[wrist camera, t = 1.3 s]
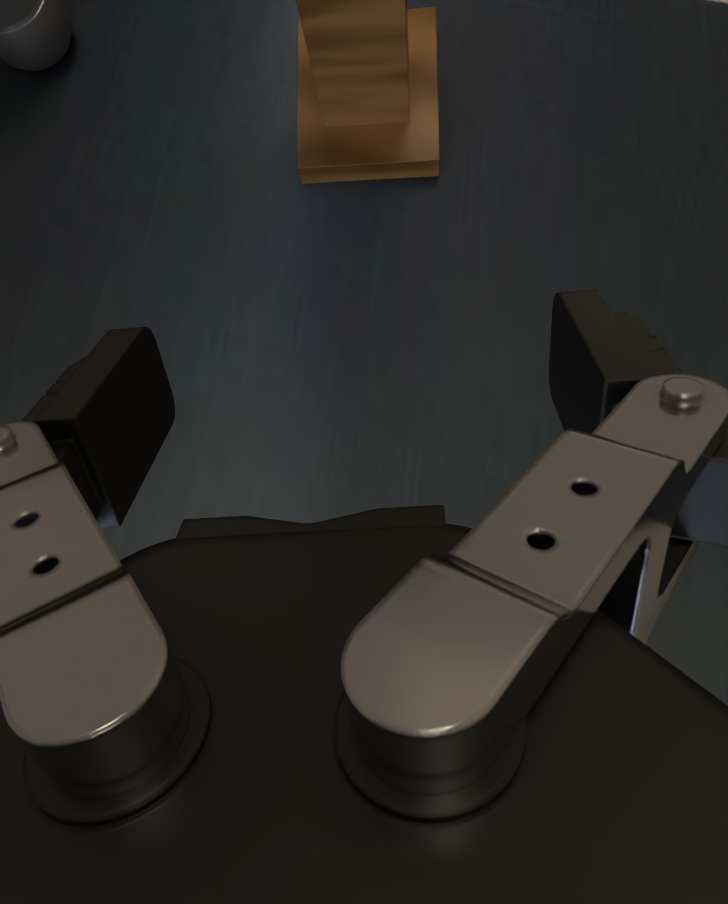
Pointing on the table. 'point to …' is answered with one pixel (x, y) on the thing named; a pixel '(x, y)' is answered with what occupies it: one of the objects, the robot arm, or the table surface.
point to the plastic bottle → (33, 33)
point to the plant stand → (366, 91)
